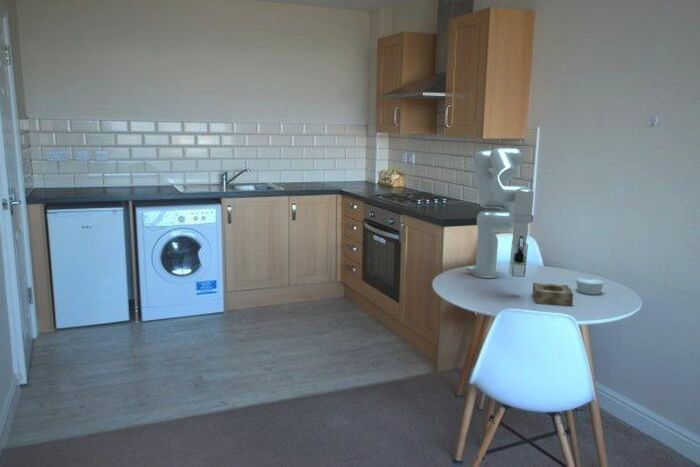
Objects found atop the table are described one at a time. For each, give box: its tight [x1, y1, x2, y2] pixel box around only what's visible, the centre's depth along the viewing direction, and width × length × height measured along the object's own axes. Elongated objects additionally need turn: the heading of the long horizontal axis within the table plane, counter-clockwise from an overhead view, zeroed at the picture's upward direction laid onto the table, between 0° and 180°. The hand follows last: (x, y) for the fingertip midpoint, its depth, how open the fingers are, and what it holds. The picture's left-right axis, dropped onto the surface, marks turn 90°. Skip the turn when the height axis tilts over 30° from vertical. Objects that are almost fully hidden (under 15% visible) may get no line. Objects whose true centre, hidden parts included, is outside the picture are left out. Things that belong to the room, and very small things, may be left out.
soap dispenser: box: [508, 240, 529, 278], centre depth 246 cm, size 6×6×14 cm
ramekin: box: [575, 277, 604, 296], centre depth 257 cm, size 11×11×5 cm
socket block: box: [532, 282, 574, 307], centre depth 243 cm, size 14×14×5 cm
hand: (518, 259), depth 246 cm, fingers closed on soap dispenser, 6 cm apart
